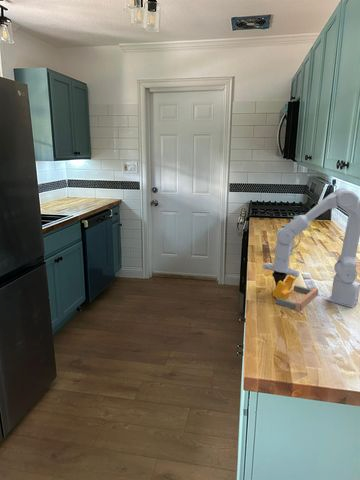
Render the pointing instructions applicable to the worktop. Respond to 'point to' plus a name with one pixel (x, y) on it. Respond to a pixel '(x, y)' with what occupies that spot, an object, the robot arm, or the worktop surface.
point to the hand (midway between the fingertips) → (278, 289)
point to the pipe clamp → (284, 288)
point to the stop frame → (303, 301)
